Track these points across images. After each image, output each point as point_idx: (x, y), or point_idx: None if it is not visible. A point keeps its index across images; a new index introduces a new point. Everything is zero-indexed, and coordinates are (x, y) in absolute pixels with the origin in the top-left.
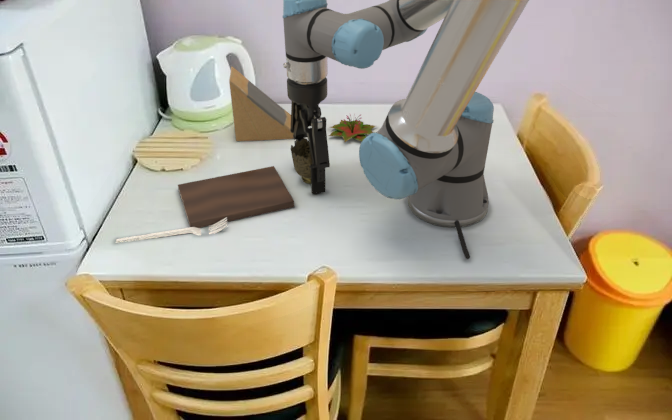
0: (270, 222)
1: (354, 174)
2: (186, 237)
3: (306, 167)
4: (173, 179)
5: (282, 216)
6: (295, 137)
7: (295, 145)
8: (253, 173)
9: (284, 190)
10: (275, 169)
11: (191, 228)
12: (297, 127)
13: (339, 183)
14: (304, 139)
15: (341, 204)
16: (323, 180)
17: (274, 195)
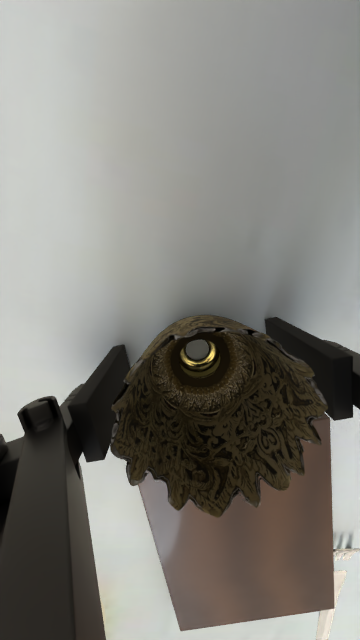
0: (356, 459)
1: (188, 197)
2: (344, 589)
3: (274, 410)
4: (132, 615)
5: (343, 433)
6: (82, 478)
7: (106, 446)
8: (162, 501)
9: None
10: None
11: (335, 594)
12: (98, 590)
13: (232, 263)
14: (117, 443)
15: (347, 279)
16: (327, 342)
17: None
